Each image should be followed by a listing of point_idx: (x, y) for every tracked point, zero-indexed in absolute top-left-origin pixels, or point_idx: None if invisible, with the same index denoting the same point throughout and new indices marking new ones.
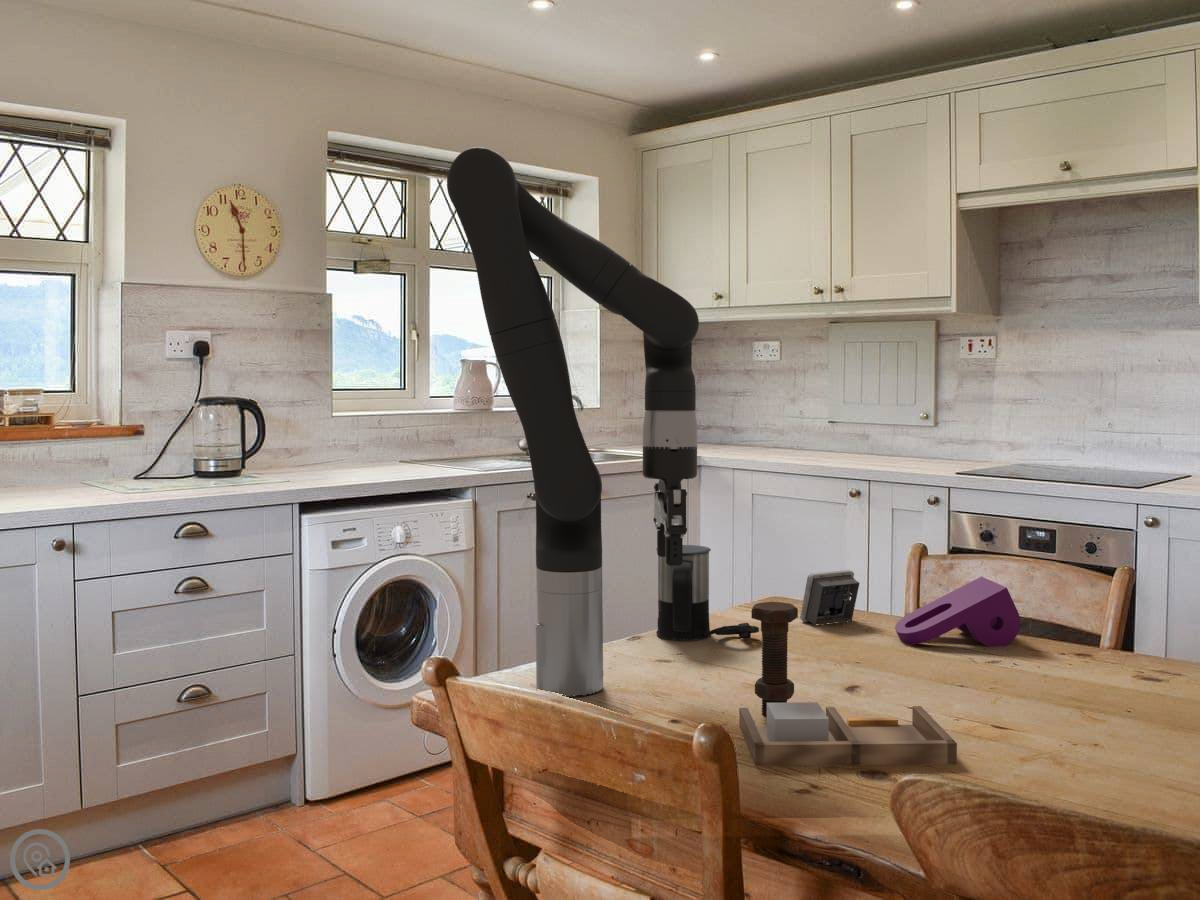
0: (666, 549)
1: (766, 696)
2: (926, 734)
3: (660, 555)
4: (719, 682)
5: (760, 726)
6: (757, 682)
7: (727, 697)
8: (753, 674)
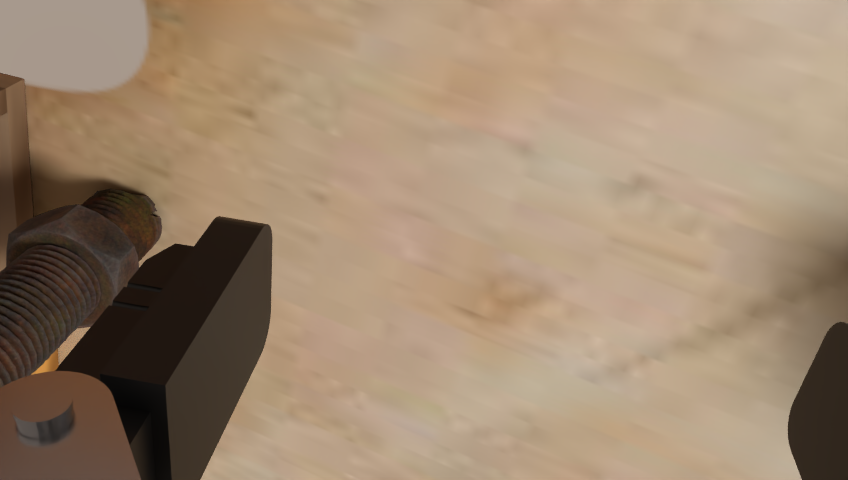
0: (164, 292)
1: (27, 220)
2: None
3: (833, 339)
4: (576, 222)
5: (7, 147)
6: (53, 228)
7: (399, 184)
8: (628, 354)
